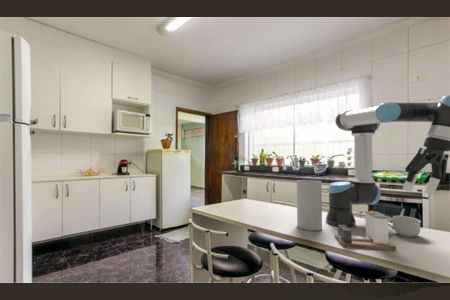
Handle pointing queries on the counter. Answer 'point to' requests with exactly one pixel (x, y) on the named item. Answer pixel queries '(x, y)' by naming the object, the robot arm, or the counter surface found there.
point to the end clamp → (345, 233)
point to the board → (365, 244)
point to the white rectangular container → (377, 227)
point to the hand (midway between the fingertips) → (418, 192)
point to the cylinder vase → (309, 205)
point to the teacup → (405, 225)
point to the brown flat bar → (360, 238)
